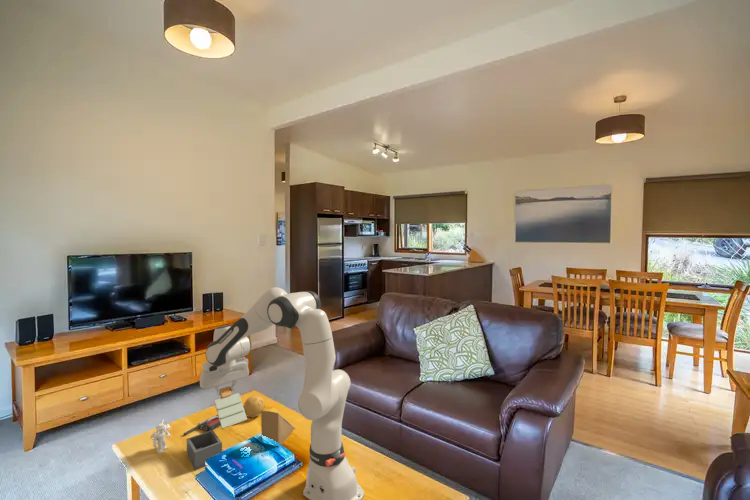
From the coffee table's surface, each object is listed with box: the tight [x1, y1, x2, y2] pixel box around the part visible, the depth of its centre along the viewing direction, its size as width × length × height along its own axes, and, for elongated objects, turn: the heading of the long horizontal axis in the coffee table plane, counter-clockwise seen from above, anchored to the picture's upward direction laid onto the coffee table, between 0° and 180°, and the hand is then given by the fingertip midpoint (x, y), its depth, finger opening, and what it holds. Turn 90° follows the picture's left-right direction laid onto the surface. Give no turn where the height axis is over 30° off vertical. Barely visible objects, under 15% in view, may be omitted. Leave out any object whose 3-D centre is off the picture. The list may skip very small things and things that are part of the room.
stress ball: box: [243, 395, 266, 418], centre depth 173 cm, size 10×10×10 cm
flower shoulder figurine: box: [150, 418, 172, 454], centre depth 146 cm, size 9×4×12 cm, turn 169°
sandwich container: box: [260, 410, 296, 445], centre depth 156 cm, size 9×15×15 cm, turn 164°
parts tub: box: [186, 430, 223, 471], centre depth 141 cm, size 12×10×7 cm
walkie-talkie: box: [183, 414, 221, 436], centre depth 164 cm, size 9×4×20 cm
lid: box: [213, 385, 248, 430], centre depth 151 cm, size 16×10×3 cm
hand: (225, 392), depth 154 cm, fingers closed on lid, 4 cm apart
